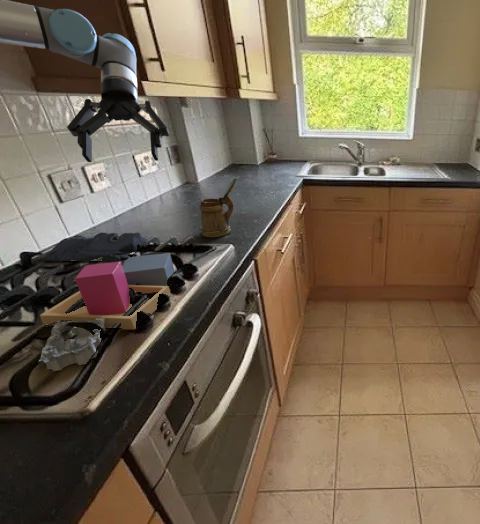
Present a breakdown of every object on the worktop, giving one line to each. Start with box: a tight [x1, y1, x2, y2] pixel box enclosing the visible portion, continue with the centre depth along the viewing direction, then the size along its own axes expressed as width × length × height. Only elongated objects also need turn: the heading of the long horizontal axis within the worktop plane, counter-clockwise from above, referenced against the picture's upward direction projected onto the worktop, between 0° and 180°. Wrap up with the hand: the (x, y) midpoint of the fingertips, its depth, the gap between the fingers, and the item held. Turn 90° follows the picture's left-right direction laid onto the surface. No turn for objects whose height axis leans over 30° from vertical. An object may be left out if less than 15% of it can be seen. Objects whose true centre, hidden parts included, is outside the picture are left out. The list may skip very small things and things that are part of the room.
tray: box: [39, 285, 172, 331], centre depth 69 cm, size 18×13×3 cm
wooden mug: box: [199, 178, 238, 238], centre depth 109 cm, size 9×14×18 cm, turn 110°
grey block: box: [122, 252, 175, 286], centre depth 80 cm, size 9×9×5 cm
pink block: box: [74, 261, 130, 315], centre depth 68 cm, size 6×6×9 cm
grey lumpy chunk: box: [38, 318, 107, 372], centre depth 58 cm, size 11×8×4 cm
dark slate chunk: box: [43, 232, 149, 263], centre depth 95 cm, size 15×22×5 cm
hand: (121, 157), depth 79 cm, fingers open, 13 cm apart
